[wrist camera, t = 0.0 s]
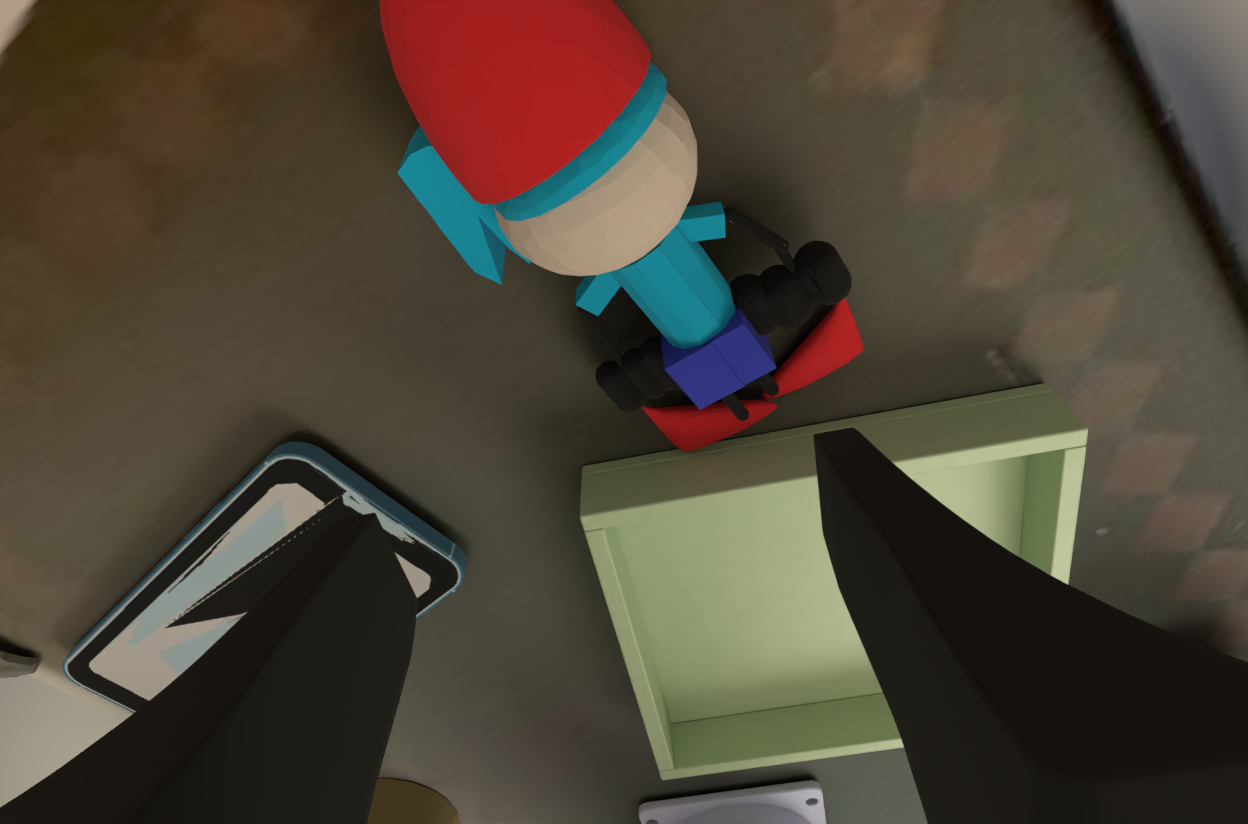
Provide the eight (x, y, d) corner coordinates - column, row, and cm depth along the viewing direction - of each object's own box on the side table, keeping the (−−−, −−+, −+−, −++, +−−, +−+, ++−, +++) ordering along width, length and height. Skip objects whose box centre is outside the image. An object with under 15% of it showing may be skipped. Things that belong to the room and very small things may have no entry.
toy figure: (870, 300, 23) (561, -235, 14) (925, 411, 20) (556, -210, 11) (659, 412, 26) (292, 20, 17) (672, 529, 22) (218, 106, 14)
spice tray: (1019, 671, 30) (1049, 728, 28) (658, 723, 31) (661, 781, 29) (1045, 381, 23) (1089, 428, 21) (581, 465, 24) (578, 516, 22)
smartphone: (49, 671, 28) (284, 440, 22) (66, 650, 29) (296, 422, 23) (230, 761, 31) (478, 576, 25) (240, 739, 32) (483, 555, 26)
